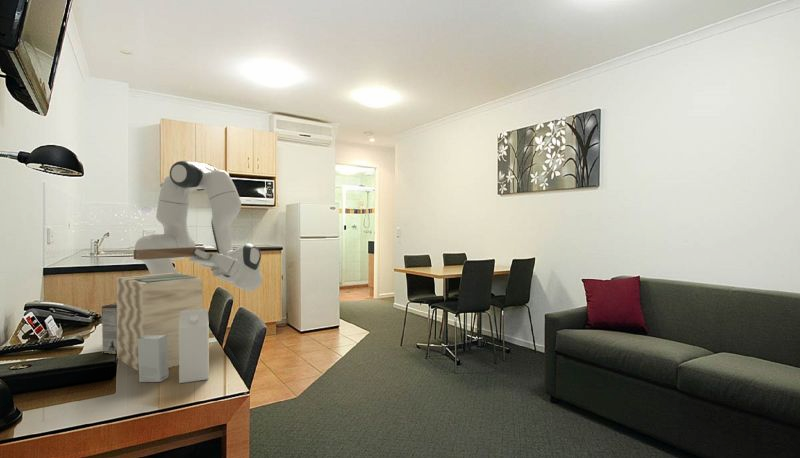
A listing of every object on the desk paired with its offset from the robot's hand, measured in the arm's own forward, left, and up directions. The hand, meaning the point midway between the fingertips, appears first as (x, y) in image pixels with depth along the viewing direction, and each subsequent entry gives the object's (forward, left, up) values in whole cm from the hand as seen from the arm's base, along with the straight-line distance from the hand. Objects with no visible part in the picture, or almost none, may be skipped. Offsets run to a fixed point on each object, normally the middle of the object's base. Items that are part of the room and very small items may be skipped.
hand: (191, 250), depth 146 cm
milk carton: (+31, -13, -34) cm, 48 cm away
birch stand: (+6, -13, -34) cm, 37 cm away
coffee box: (-14, -17, -34) cm, 41 cm away
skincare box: (+24, -21, -34) cm, 47 cm away
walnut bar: (0, -7, -2) cm, 7 cm away
